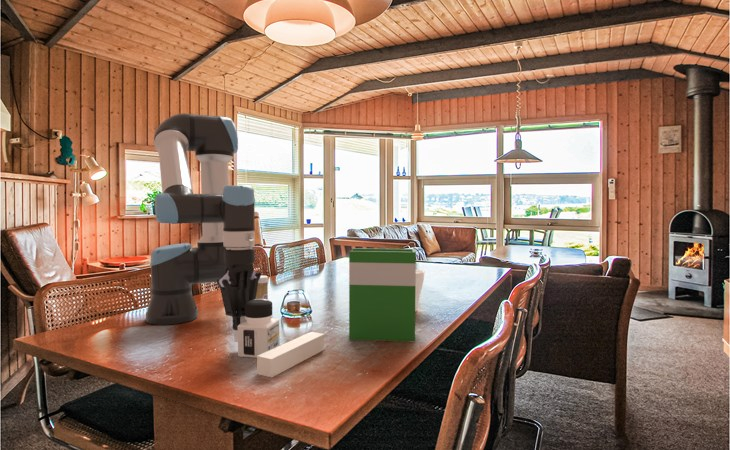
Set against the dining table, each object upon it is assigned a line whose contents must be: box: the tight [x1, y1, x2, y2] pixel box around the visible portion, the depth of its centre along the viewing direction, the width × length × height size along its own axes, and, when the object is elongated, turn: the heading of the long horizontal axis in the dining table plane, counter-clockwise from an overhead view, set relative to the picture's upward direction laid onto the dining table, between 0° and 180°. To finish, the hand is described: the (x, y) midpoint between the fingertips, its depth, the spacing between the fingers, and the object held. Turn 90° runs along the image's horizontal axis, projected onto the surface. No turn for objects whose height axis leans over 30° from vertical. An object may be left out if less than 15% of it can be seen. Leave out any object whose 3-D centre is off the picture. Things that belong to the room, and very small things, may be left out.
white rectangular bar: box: [256, 331, 325, 378], centre depth 104 cm, size 4×20×4 cm, turn 152°
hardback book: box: [348, 247, 417, 342], centre depth 123 cm, size 18×7×24 cm, turn 84°
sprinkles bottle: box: [256, 275, 269, 300], centre depth 141 cm, size 5×5×14 cm
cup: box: [415, 269, 425, 313], centre depth 152 cm, size 10×10×14 cm
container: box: [237, 299, 280, 359], centre depth 109 cm, size 8×8×13 cm
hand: (240, 341), depth 112 cm, fingers closed
